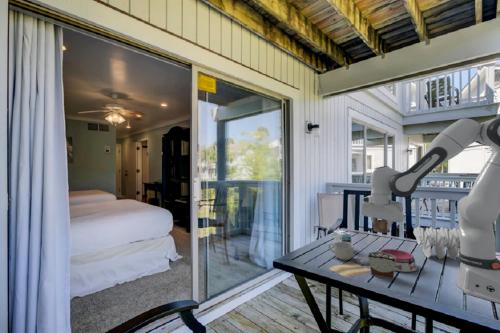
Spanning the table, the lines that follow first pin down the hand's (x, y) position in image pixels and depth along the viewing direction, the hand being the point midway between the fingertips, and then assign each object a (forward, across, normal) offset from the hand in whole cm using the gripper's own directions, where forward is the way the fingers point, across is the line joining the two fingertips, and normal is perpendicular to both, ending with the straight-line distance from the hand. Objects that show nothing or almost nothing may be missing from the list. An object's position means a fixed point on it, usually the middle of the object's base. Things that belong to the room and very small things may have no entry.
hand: (381, 228), depth 119 cm
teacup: (+23, +26, 0) cm, 35 cm away
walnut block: (+2, 0, 0) cm, 2 cm away
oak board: (+22, +12, +9) cm, 27 cm away
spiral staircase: (+23, -2, -50) cm, 55 cm away
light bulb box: (+23, +37, -13) cm, 45 cm away
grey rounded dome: (+22, +15, -6) cm, 28 cm away
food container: (+23, 0, 0) cm, 23 cm away
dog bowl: (+23, +4, -16) cm, 28 cm away
